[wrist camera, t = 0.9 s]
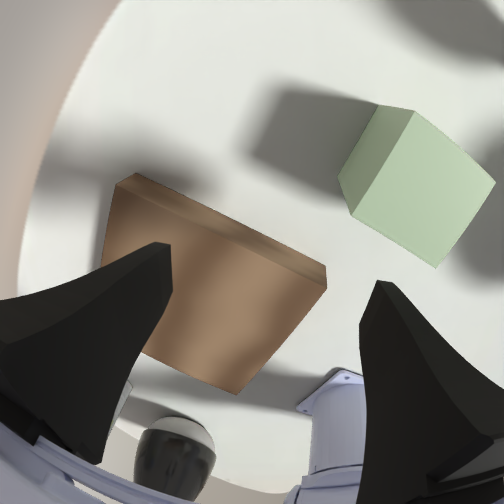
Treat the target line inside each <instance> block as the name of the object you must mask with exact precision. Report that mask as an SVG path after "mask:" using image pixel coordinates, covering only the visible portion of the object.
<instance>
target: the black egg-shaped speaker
mask: <svg viewBox="0 0 504 504" xmlns="http://www.w3.org/2000/svg"><path fill="white" fill-rule="evenodd" d="M215 462H216V454H215V446H214V442H213V439H212V437H211V436H210V434H209V433H208V432H207V431H206V430H205V429H204V428H203V427H202V426H200V425H199V424H197V423H195V422H193V421H191V420H188V419H185V418H180V417H164V418H161V419H158V420H156V421H155V422H154V423H152V424H151V425H150V426H149V427H148V429H146V430H144V431H143V433H142V435H141V438H140V440H139V444H138V448H137V452H136V457H135V464H134V483H136V484H138V485H141V486H144V487H146V488H149V489H152V490H155V491H158V492H161V493H164V494H167V495H170V496H173V497H177V498H180V499H184V500H187V501H191V502H194V501H195V499H196V498H197V496H198V495H199V493H200V492H201V491H202V489H203V487H204V486H205V484H206V482H207V480H208V478H209V476H210V474H211V472H212V470H213V467H214V465H215Z"/></svg>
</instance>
